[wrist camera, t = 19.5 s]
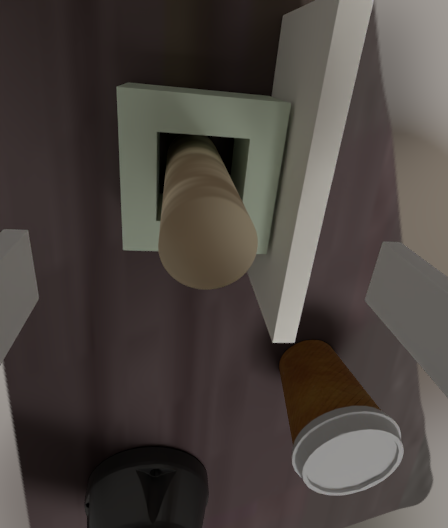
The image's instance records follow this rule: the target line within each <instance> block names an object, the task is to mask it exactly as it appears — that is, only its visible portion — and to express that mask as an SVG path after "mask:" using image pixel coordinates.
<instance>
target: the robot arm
mask: <svg viewBox="0 0 448 528" xmlns="http://www.w3.org/2000/svg"><path fill="white" fill-rule="evenodd" d="M38 300H39V295H38V288H37V282H36V276H35V270H34V264H33V257H32V251H31V245H30V239H29V233H28V230H14V229H3V230H2V231H1V232H0V365H1V363H2V361H3V360H4V358H5V356H6V355H7V353H8V351H9V349H10V348H11V346H12V344H13V343H14V341H15V339H16V337H17V336H18V334H19V332H20V331H21V329H22V327H23V325H24V324H25V322H26V320H27V319H28V317H29V315H30V313H31V312H32V310H33V308H34V306H35V305H36V303H37V301H38ZM365 301H366V303H367V304H368V305H369V306H370V307H371V308H372V310H373V311H374V312H375V313H376V314H377V316H378V317H379V318H380V319H381V320H382V321H383V323H384V324H385V325H386V326H387V327H388V328H389V330H390V331H391V332H392V333H393V334H394V335H395V337H396V338H397V339H398V340H399V341H400V342H401V344H402V345H403V346H404V347H405V348H406V349H407V351H408V352H409V353H410V354H411V355H412V357H413V358H414V359H415V360H416V361H417V362H418V364H419V365H420V366H421V367H422V368H423V369H424V371H426V373H427V374H428V375H429V376H430V378H431V379H432V380H433V381H434V382H435V383H436V384H437V386H438V387H439V388H440V389H441V390H442V392H443V393H444V394H445V395H446V396H447V397H448V277H447V276H446V275H444V274H443V273H442V272H440V271H439V270H437V269H436V268H435V267H433V266H432V265H431V264H429V263H428V262H427V261H425V260H424V259H422V258H421V257H420V256H418V255H417V254H416V253H414V252H413V251H412V250H410V249H409V248H408V247H406V246H405V245H404V244H402V243H401V242H383V243H382V246H381V249H380V253H379V256H378V259H377V262H376V266H375V269H374V272H373V275H372V278H371V282H370V285H369V288H368V291H367V295H366V298H365ZM208 496H209V490H208V478H207V473H206V470H205V468H204V467H203V465H202V464H201V463H200V462H199V461H198V460H197V459H196V458H194V457H193V456H191V455H189V454H187V453H185V452H182V451H179V450H175V449H170V448H163V447H144V448H137V449H131V450H128V451H124V452H121V453H118V454H116V455H114V456H112V457H110V458H108V459H106V460H105V461H103V462H102V463H101V464H100V465H98V466H97V467H96V468H95V470H94V471H93V472H92V474H91V476H90V478H89V481H88V485H87V490H86V495H85V512H86V515H87V528H202V524H203V519H204V514H205V508H206V505H207V502H208Z"/></svg>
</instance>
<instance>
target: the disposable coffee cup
mask: <svg viewBox="0 0 448 528" xmlns="http://www.w3.org/2000/svg"><path fill="white" fill-rule="evenodd" d="M279 370H280V375H281V380H282V386H283V391H284V397H285V403H286V408H287V414H288V419H289V425H290V430H291V436H292V441H293V449H292V451H293V452H292V464H293V467H294V469H295V472H296V473H297V474H298V475H299V476H300V477H302V479H303V481H304V482H305V483H306V485H307V486H308V488H310V489H312V490H314V491H315V492H317V493H321V494H325V495H347V494H351V493H355V492H359V491H363V490H365V489H368V488H370V487H372V486H374V485H376V484H378V483H380V482H382V481H383V480H384V479H386V478H387V477H388V476H389V475H390V474H392V473H393V472H394V470H395V469H396V468H397V467H398V466H399V464H400V462H401V460H402V457H403V452H404V451H403V445H402V442H401V432H400V428H399V426H398V425H397V423H396V422H395V421H394V420H393V419H392V418H391V417H390V416H388V415H386V414H385V413H384V412H383V411H381V410H380V409H379V407H378V406H377V405H376V404H375V402H374V401H373V400H372V399H371V397H370V396H369V395H368V394H367V392H366V391H365V390H364V389H363V387H362V386H361V384H359V382H358V381H357V380H356V378H355V377H354V376H353V374H352V373H351V372H350V371H349V369H348V368H347V367H346V365H345V364H344V363H343V362H342V360H341V359H340V358H339V357H338V355H337V354H336V353H335V352H334V350H333V349H332V348H331V346H330V345H328V344H327V343H325V342H323V341H320V340H306V341H302V342H299V343H297V344H295V345H293V346H292V347H290V348H289V349H288V350H287V351H286V352H285V353H284V354H283V355H282V357H281V359H280V362H279Z"/></svg>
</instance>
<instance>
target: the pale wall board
mask: <svg viewBox="0 0 448 528" xmlns="http://www.w3.org/2000/svg"><path fill="white" fill-rule="evenodd" d="M373 1H374V0H315V1H313V2H311V3H309V4H307V5H304V6H302V7H300V8H298V9H296V10H294V11H291V12H289V13H287V14H285V15H283V17H282V25H281V32H280V39H279V46H278V54H277V61H276V68H275V75H274V82H273V90H272V97H274V98H277V99H280V100H283V101H286V102H290V103H291V108H290V114H289V120H288V126H287V132H286V138H285V144H284V151H283V157H282V163H281V169H280V175H279V181H278V188H277V194H276V200H275V206H274V212H273V218H272V224H271V231H270V237H269V243H268V249H267V254H256V256H255V259H254V261H253V263H252V265H251V267H250V268H249V269H248V271H247V273H248V276H249V279H250V281H251V284H252V287H253V290H254V293H255V295H256V298H257V301H258V304H259V307H260V309H261V312H262V315H263V318H264V321H265V323H266V326H267V329H268V332H269V335H270V337H271V340H272V343H295V339H296V335H297V330H298V326H299V322H300V317H301V313H302V309H303V305H304V300H305V296H306V292H307V287H308V283H309V279H310V274H311V270H312V266H313V261H314V257H315V253H316V248H317V244H318V240H319V235H320V231H321V227H322V222H323V218H324V214H325V209H326V205H327V201H328V196H329V192H330V188H331V183H332V179H333V175H334V170H335V166H336V162H337V157H338V153H339V149H340V144H341V140H342V136H343V131H344V127H345V123H346V118H347V114H348V110H349V105H350V101H351V97H352V92H353V88H354V84H355V79H356V75H357V71H358V66H359V62H360V58H361V53H362V49H363V45H364V40H365V36H366V32H367V27H368V23H369V19H370V14H371V10H372V6H373Z"/></svg>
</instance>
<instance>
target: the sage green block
mask: <svg viewBox="0 0 448 528" xmlns="http://www.w3.org/2000/svg"><path fill="white" fill-rule="evenodd" d="M290 108H291V103H290V102H286V101H283V100H280V99H277V98H274V97H271V96H265V95H255V94H244V93H234V92H223V91H213V90H203V89H192V88H182V87H171V86H161V85H150V84H140V83H129V82H128V83H125V84H122V85H120V86H117V112H118V138H119V163H120V188H121V213H122V238H123V250H134V251H158V242H159V232H160V221H161V211H162V201H163V194H162V193H159V175H160V132H166V133H179V134H192V135H206V136H219V137H232V138H234V146H233V156H232V166H231V176H230V177H231V179H232V181H233V184H234V186H235V188H236V190H237V192H238V194H239V196H240V198H241V200H242V202H243V204H244V206H245V208H246V210H247V212H248V214H249V216H250V218H251V220H252V222H253V224H254V227H255V229H256V232H257V237H258V248H257V253H256V254H267V249H268V243H269V237H270V231H271V224H272V218H273V212H274V206H275V200H276V194H277V188H278V181H279V175H280V169H281V163H282V157H283V151H284V144H285V138H286V132H287V126H288V120H289V114H290Z"/></svg>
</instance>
